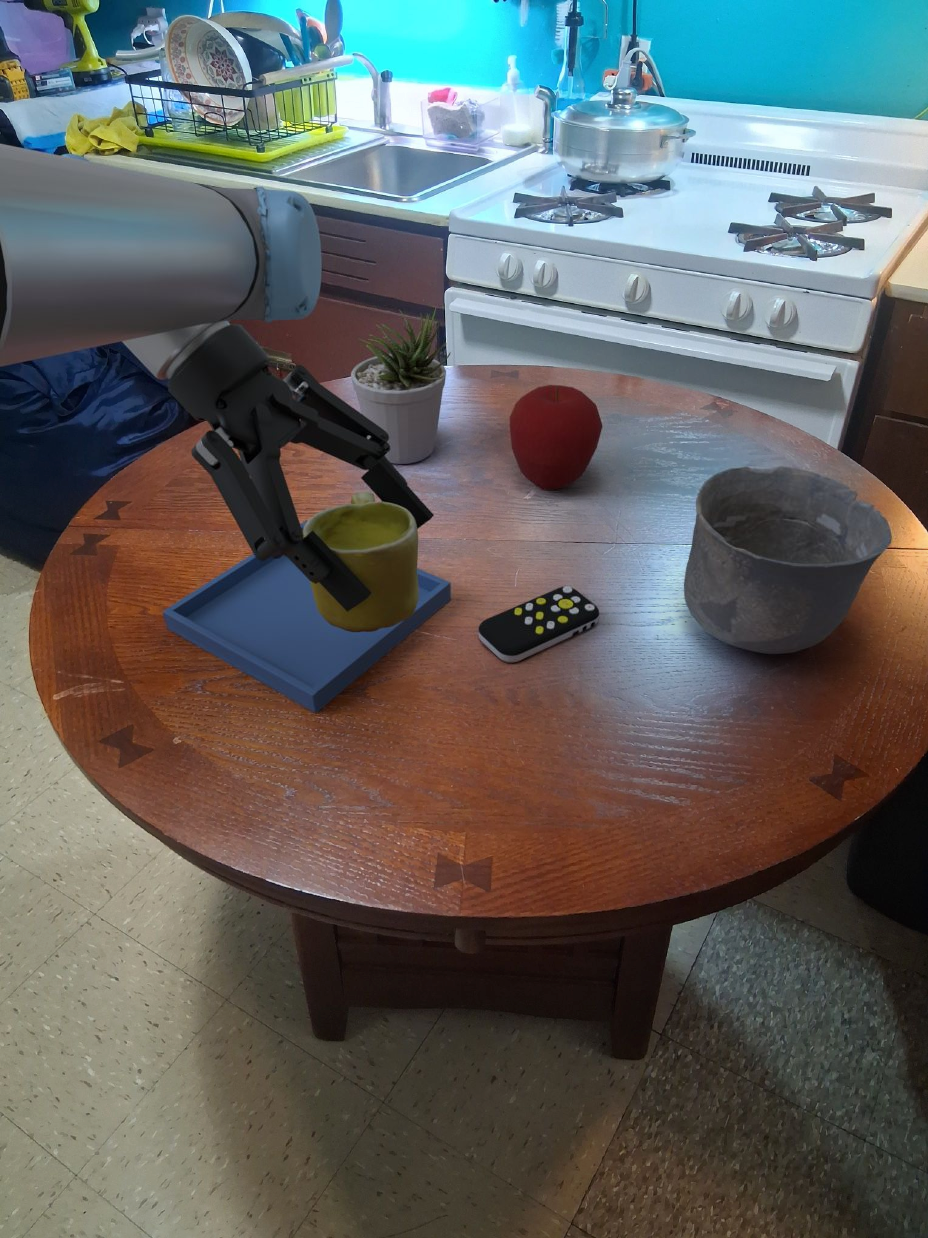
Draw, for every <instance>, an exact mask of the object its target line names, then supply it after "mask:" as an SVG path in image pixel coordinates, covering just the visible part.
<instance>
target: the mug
mask: <svg viewBox="0 0 928 1238" xmlns="http://www.w3.org/2000/svg"><path fill="white" fill-rule="evenodd" d="M311 531H314V532H315V533H316V534H317V535H318V536H319V538H320V539H321V540H322V541H323V542H324V543H325V544H326V545H327V546H328V547H329V548H330V549H331V550H332V551H333V552H334V553H335V554H336V555H337V557H338V558H339V559H340V560H341V561H342V562H343V563H344V564H345V565H346V566H347V567H348V568H349V569H350V570H351V571H352V572H353V573H354V575H355V576H356V577H357V578H358V579H359V580H360V581H361V582H362V583H363V584H364V585H365V586H366V587H367V588H368V589H369V590H370V591H371V592H372V593H371V594H370V596H369V597H368V598H367V599H365V600H364V601H363V602H361V603H360V604H358V605H357V606H355V607H354V608H352V609H351V610H349V611H348V612H347V611H346V610H345V609H344V608H343V607H342V606H341V605H340V604H339V603H338V602H337V601H336V600H335V598H334V597H333V596H332V595H331V594H330V593H329V592H328V591H327V590H326V589H325V588H324V587H323V586H322V585H321V584H320V583H319V582H318V583H317V584H315V583H313V582H311V581H310V584H311V588H312V591H313V595H314V599H315V602H316V606H317V609H318V611H319V613H320V614H321V615H322V617H323V618H324V619H325V620H326V621H327V622H328V623H329V624H331V625H332V626H335V627H338V628H341V629H343V630H346V631H349V632H373V631H377V630H378V629H381V628H388V627H391V626H394V625H396V624H397V623H399V622H402V621H404V620H406V619H408V618H409V617H411V616H412V614H413V613H414V611H415V608H416V606H417V603H418V598H419V587H418V579H417V568H418V559H419V557H418V556H419V553H418V552H419V531H418V529H417V525H416V522H415V519H414V517H413V516H412V514H411V513H410V512H409V511H408V510H407V509H405V508H403V507H401V506H399V505H396V504H392V503H388V502H382V501H376V497H375V493H374V492H370V491H364V492H356V493H353V494H352V495H351V500H350V503H344V504H340V505H336V506H331V507H329V508H327V509H324V508H323V509H322V510H320V511H318V512H317V513H315V514H313V516H311V517H310V518H309V519H308V521H307V522H306V524H305V526H304V527H303V530H302V532H303V538H304V537H305V536H307V535H308V534H309V533H310V532H311Z"/></svg>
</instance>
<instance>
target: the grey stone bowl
mask: <svg viewBox="0 0 928 1238" xmlns="http://www.w3.org/2000/svg"><path fill="white" fill-rule="evenodd" d="M858 494H859V492H857V491H855V490H852V489H850V487H849V486H848V485H846V484H844V483H842V482H840V481H838V480H836V479H833V478H830V477H827V476H823V475H820V474H818V473H816V472H813V471H809V470H804V469H798V468H796V467H790V466H783V465H782V466H775V467H771V468H770V467H769V468H756V467H755V468H752V467H749V466H747V465H745V466H741V467H732V468H728V469H725V470H723V471H719V472H717V473H715V474H714V475H711V477H709V478H708V479H706V480H705V481H704V483H703V484H702V485H701V488H700V489H699V491H698V493H697V496H696V499H695V512H696V515H695V524H694V527H693V534H692V539H691V541H692V542H691V547H690V551H689V555H688V560H687V562H686V567H685V573H684V583H683V595H684V601H685V605H686V607H687V609H688V611H689V613H690V615H691V617H692V618H693V619H694V620H695V622H696V623H697V624H698V625H699V627H700V628H701V629H702V630H703V631H704V632H705V633H707V634H709V635H711V636H712V637H714V638H716V639H717V640H719V641H721V642H722V643H725V644H727V645H731V646H733V647H736V648H739V649H742V650H746V651H751V652H755V653H759V654H768V655H779V654H780V655H781V654H792V653H795V652H799V651H803V650H805V649H809V648H811V647H814V646H816V645H818V644H819V643H821V642H823V640H825V639H826V638H827V637H828V636H830V635H831V634H832V633H833V632H834V631H835V630H836V628H838V626H839V625H840V624H841V623H842V622H843V621H844V619H846V616H847V614H848V613H849V611H850V609H851V607H852V605H853V603H854V602H855V600H856V598H857V596H858V593H859V591H860V588H861V585H862V584H863V583H864V581H865V579H866V577H867V576H868V574H869V572H870V570H871V569H872V566H873V565H874V564H875V562H877V561H876V560H877V559H878V558H879V557H880V556H881V555H882V554H883V553H884V552H886V550H887V549H888V548H889V547H890V545H891V543H892V539H893V536H892V529H891V527H890V524H889V522H888V520H887V518H886V517H885V516H883V515H882V512H881V511H880V510H878V509H876V508H875V505H874V504H871V503H869V502H868V501H866V500H864V499H859V500H857V498H858V497H857V496H858Z"/></svg>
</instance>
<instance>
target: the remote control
mask: <svg viewBox="0 0 928 1238" xmlns="http://www.w3.org/2000/svg"><path fill="white" fill-rule="evenodd" d="M599 619H600V609H599V608H598V606H597V605H596V604H595V603H593V602H592V600H590V599H589V598H587V597H586V596H585V595H583V594H582V593H581V592H579V591H578V590H577V589H576V588H574V587H571V586H560V587H557V588H555V589H552V590H551V591H548V592H546V593H543V594H541V595H539V596H537V597H534V598H532V599H529V600H527V601H525V602H522V603H521V604H518V605H516V606H513V607H511V608H509V609H507V610H504V611H502V612H499V613H498V614H495V615H493V616H491V617H490V616H489V617H488V618H486V619H484V620H482V622H480V623H479V626H478V638H479V640H480V642H482V643H483V644H484V645H485V646H486V647H487V648H488V649H489V650H490V651H491V652H492V653H493V654H494V655H495V656H496V657H497V658H498V659H500V661H503V662H505V663H517V662H520V661H521V660H524V659H526V658H528V657H531V656H533V655H535V654H537V653H539V652H541V651H543V650H545V649H547V648H550V647H551V646H555V645H556V644H558V643H560V642H563V641H564V640H567V639H569V638H571V637H573V636H575V635H578V634H579V633H582V632H584V631H586V630H588V629H590V628H593V627H594V626H595V625H597V624H598V622H599Z"/></svg>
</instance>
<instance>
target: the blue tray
mask: <svg viewBox="0 0 928 1238" xmlns="http://www.w3.org/2000/svg"><path fill="white" fill-rule="evenodd" d="M308 520H309V519H308ZM308 520H307V519H305V520H304V521H302V522H300V525H301V529H302V530H303V527H304V526H305V524H306V522H307V521H308ZM417 579H418V587H419V598H418V603H417V606H416V608H415V611H414V613H413V614H412V616H411V617H409V618H408V619H406V620H404V621H402V622H399V623H397V624H396V625H394V626H391V627H388V628H381V629H378V630H377V631H373V632H349V631H346V630H343V629H341V628H338V627H335V626H332V625H331V624H329V623H328V622H327V621H326V620H325V619H324V618H323V617H322V615H321V614H320V613H319V611H318V609H317V606H316V602H315V599H314V595H313V591H312V588H311V584H310V580H309V579H308V578H307V577H306V576H305V575H304V574H303V573H302V572H301V571H300V570H299V569H298V568H297V567H296V566H295V565H294V564H293V563H292V562H291V561H290V560H289V559H288V558H287V557H286V556H284V555H283V556H282V557H281V558H279V559H274V558H273V557H270V558H268V559H267V560H266V561H260V560H258V559H257V558H256V557H255V555H254V553H253V552H252V554H250V555H249V556H247V557H246V558H244V559H242V560H241V561H239V562H238V563H236V564H235V565H233V566H231V567H230V568H228V569H227V570H225V571H223V572H222V573H220V574H219V575H217V576H215V577H214V578H213V579H211V580H209V581H208V582H206V583H204V584H203V585H202V586H199V587H198V588H197V589H195V590H193V591H192V592H190V593H189V594H187V595H186V596H183V597H182V598H181V599H179V600H178V601H176V602H175V603H172V604H171V605H170V606H168V607H167V608H165V609H163V610H162V611H161V612H162V616H163V620H164V623H165V626H166V629H167V630H168V631H170V632H172V633H173V634H175V635H178V636H179V637H180V638H183V639H185V640H186V641H188V642H190V644H193V645H194V646H196V647H198V648H200V649H202V650H204V651H205V652H207V653H209V654H210V655H212V656H214V657H216V658H217V659H220V660H221V661H223V662H224V663H226V664H228V665H229V666H232V667H233V668H235V669H237V670H239V671H240V672H242V673H244V674H246V675H247V676H249V677H251V678H252V679H254V680H256V681H258V682H259V683H262V684H263V685H265V686H267V687H268V688H270V689H272V690H274V691H276V692H277V693H278V694H281V695H282V696H284V697H286V698H288V699H289V700H291V701H293V702H295V703H296V704H298V705H300V706H302V707H304V708H305V709H307V710H309V711H310V712H312V713H314V714H317V713H318V712H320V711H321V710H322V709H323V708H324V707H325V706H326V705H328V704H329V703H330V702H331V701H332V700H333V699H335V698H336V697H337V696H338V695H340V694H341V693H342V692H344V690H346V689H347V688H348V687H349V686H350V685H352V684H353V683H354V682H355V681H357V679H359V678H360V677H361V676H362V675H363V674H364V673H366V672H367V671H368V670H370V668H372V667H373V666H374V665H375V664H376V663H377V662H379V661H380V660H382V658H383V657H385V656H386V655H387V654H388V653H389V652H391V651H392V650H393V649H394V648H395V647H396V646H398V645H399V644H400V643H401V642H403V641H404V640H405V639H406V638H407V637H408V636H409V635H411V634H412V633H413V632H414V631H416V630H417V629H418V628H419V627H421V625H422V624H425V622H426V621H427V620H429V619H430V618H431V617H432V616H433V615H434V614H436V613H437V612H438V611H439V610H440V609H441V608H443V607H444V606H445V605H446V604H447V603H449V602H450V601H451V600H452V590H451V589H452V587H451V586H452V585H451V582H450V581H448V580H445V578H444V579H443V578H442V577H439V576H437V575H434V574H432V573H430V572H427V571H425V570H423V569H421V568H418V567H417Z"/></svg>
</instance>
